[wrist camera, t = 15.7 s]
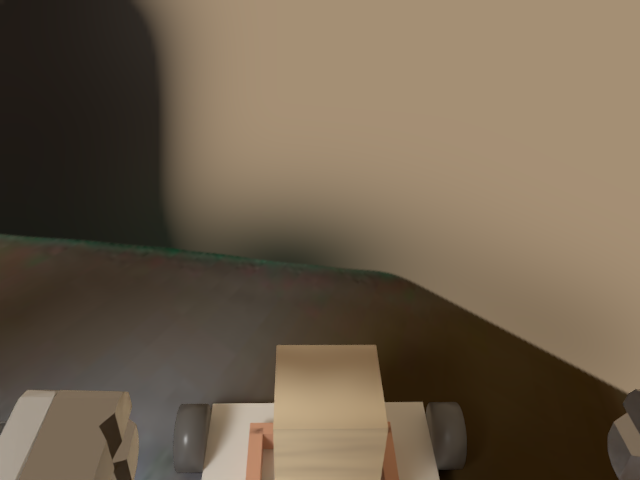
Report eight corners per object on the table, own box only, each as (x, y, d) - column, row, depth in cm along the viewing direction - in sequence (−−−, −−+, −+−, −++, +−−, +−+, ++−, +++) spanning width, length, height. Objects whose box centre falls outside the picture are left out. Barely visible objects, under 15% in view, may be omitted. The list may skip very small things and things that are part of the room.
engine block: (370, 546, 31) (388, 428, 25) (276, 547, 31) (273, 429, 25) (362, 462, 35) (376, 344, 29) (279, 463, 35) (276, 345, 29)
